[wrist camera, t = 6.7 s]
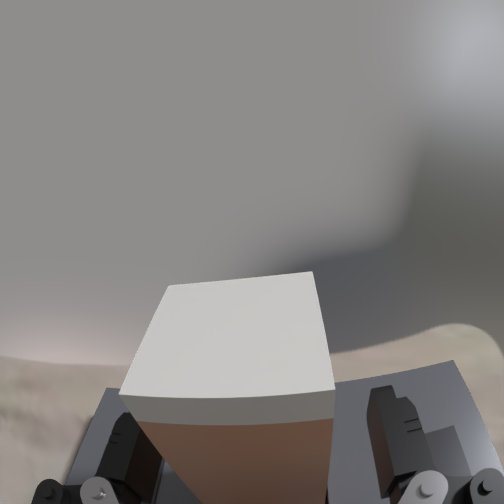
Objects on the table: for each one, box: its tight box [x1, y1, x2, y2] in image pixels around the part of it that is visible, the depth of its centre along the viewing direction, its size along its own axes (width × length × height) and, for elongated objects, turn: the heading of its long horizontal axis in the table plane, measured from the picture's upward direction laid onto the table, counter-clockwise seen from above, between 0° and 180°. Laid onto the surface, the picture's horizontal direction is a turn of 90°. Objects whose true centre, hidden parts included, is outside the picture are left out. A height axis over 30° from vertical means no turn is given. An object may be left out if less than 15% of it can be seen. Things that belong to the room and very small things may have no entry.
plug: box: [118, 271, 335, 504], centre depth 11 cm, size 4×4×14 cm
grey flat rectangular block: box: [65, 360, 504, 504], centre depth 13 cm, size 24×14×3 cm, turn 87°
